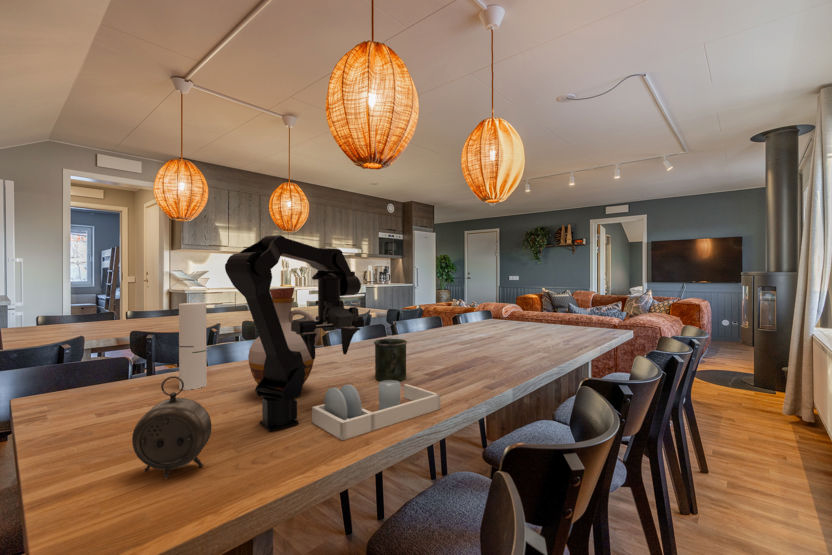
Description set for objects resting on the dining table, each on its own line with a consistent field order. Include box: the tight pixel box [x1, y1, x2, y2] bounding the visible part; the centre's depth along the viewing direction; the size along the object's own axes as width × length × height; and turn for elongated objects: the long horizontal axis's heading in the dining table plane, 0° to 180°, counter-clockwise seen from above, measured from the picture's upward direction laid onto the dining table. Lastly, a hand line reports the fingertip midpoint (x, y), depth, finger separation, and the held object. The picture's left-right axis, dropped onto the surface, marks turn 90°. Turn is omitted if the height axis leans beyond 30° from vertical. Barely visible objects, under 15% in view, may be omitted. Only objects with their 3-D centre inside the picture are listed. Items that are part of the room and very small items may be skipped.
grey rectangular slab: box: [378, 380, 401, 411], centre depth 95 cm, size 5×5×7 cm
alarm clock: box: [131, 375, 212, 479], centre depth 65 cm, size 11×5×16 cm, turn 102°
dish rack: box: [311, 383, 442, 441], centre depth 92 cm, size 28×13×9 cm, turn 132°
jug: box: [247, 286, 321, 390], centre depth 111 cm, size 20×18×30 cm
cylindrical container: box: [178, 302, 208, 391], centre depth 117 cm, size 7×7×25 cm
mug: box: [373, 338, 408, 382], centre depth 125 cm, size 11×15×12 cm
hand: (329, 356), depth 102 cm, fingers open, 9 cm apart
